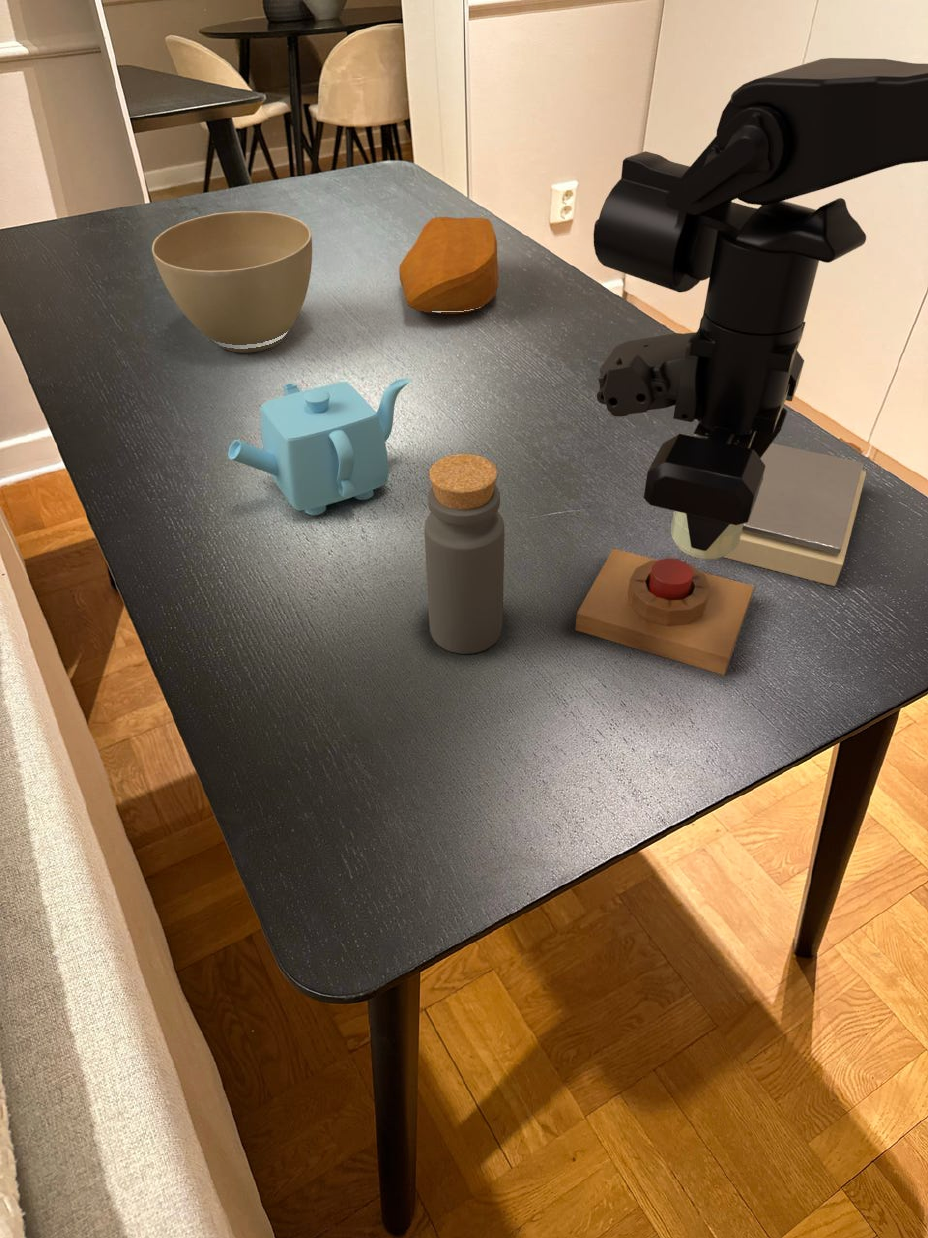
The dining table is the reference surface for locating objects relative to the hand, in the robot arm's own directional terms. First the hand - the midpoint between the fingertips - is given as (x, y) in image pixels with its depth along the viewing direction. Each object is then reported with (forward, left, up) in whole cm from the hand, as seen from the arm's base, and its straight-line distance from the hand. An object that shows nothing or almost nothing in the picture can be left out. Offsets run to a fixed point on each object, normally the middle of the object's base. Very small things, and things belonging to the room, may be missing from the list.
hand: (707, 527), depth 63 cm
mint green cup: (0, 0, -1) cm, 1 cm away
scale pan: (-5, -19, -8) cm, 21 cm away
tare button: (+2, -2, -8) cm, 8 cm away
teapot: (+37, -7, -11) cm, 39 cm away
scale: (-5, -19, -11) cm, 22 cm away
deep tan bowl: (+63, -30, -11) cm, 70 cm away
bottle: (+16, +6, -11) cm, 21 cm away
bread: (+46, -50, -11) cm, 69 cm away
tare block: (+2, -2, -11) cm, 11 cm away
